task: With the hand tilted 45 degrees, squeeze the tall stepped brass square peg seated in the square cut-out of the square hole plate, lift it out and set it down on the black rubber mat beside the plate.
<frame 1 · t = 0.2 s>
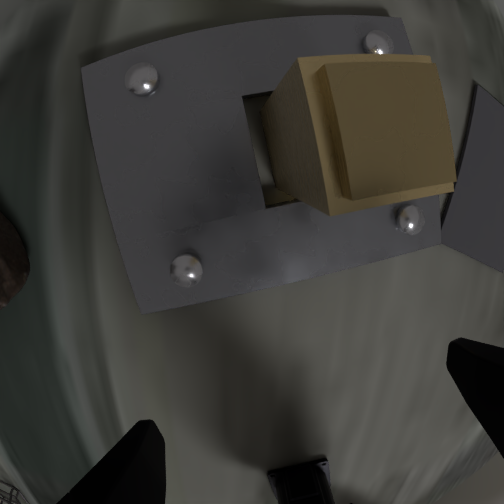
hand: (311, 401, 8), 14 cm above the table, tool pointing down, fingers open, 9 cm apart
geometric lantern: (12, 492, 30), on the table
stepped brass square peg: (305, 142, 20), resting in square hole plate
square hole plate: (275, 147, 19), on the table
rubber mat: (495, 182, 21), on the table
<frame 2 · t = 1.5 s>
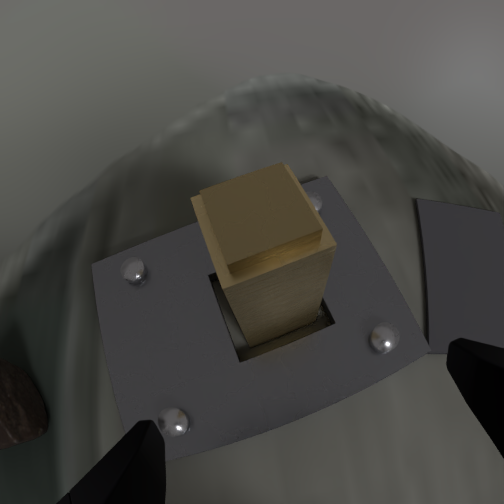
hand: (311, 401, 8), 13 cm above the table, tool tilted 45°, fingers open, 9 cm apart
stepped brass square peg: (270, 304, 24), resting in square hole plate
square hole plate: (244, 314, 23), on the table
rubber mat: (472, 273, 23), on the table
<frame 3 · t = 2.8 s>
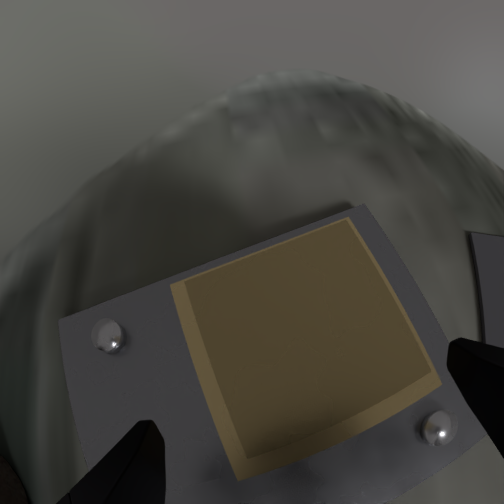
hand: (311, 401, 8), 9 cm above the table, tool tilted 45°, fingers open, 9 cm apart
stepped brass square peg: (292, 386, 16), resting in square hole plate
square hole plate: (258, 399, 16), on the table
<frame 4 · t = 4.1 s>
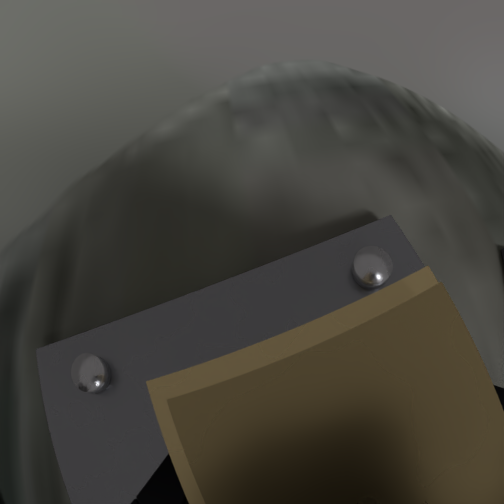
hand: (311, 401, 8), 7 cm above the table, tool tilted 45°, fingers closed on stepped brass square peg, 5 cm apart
stepped brass square peg: (307, 434, 13), resting in square hole plate, touching gripper
square hole plate: (267, 449, 13), on the table
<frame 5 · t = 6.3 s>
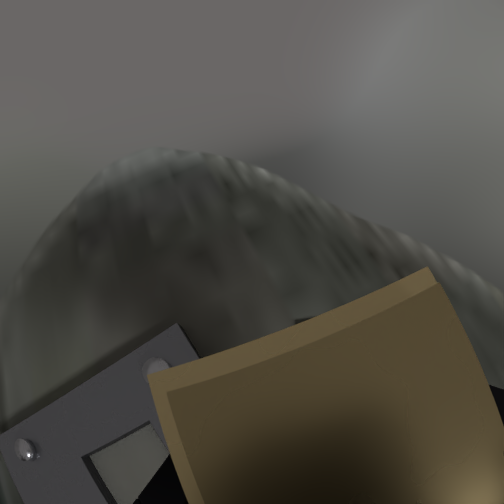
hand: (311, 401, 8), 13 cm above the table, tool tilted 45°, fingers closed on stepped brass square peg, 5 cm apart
stepped brass square peg: (307, 433, 13), point 7 cm above the table, touching gripper
square hole plate: (124, 488, 17), on the table
when the fingers open (8 cm above the table, at t = 8.3 s): stepped brass square peg stays where it is, resting on rubber mat.
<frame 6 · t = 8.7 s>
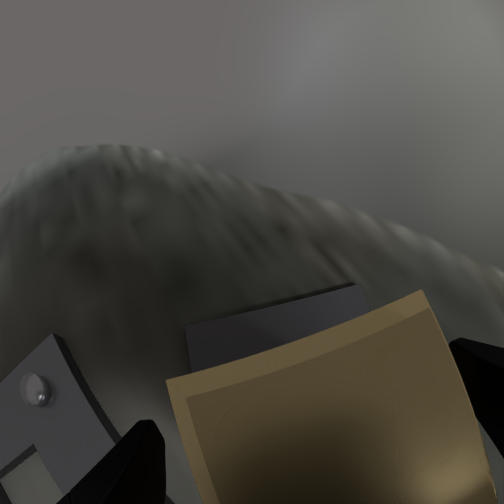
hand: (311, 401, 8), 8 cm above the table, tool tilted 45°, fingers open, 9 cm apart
stepped brass square peg: (306, 433, 14), resting on rubber mat
rubber mat: (305, 432, 14), on the table
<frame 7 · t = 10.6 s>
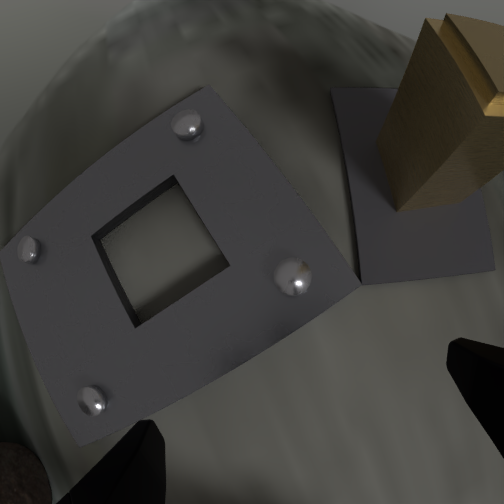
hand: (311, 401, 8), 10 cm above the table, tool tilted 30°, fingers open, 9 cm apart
stepped brass square peg: (419, 171, 19), resting on rubber mat
square hole plate: (136, 269, 20), on the table
rubber mat: (416, 173, 19), on the table
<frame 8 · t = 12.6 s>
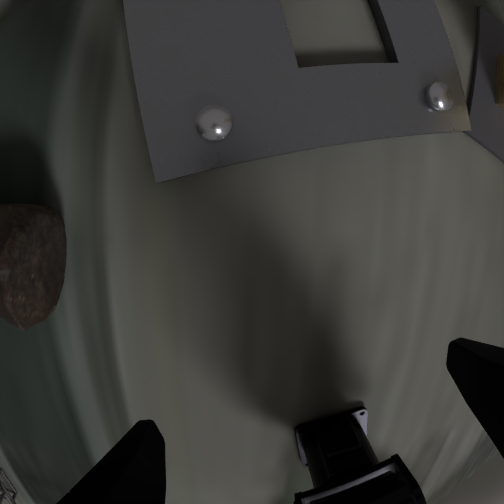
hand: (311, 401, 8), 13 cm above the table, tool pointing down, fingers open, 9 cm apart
square hole plate: (303, 24, 17), on the table
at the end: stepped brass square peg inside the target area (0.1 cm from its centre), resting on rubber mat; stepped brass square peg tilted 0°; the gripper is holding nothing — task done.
